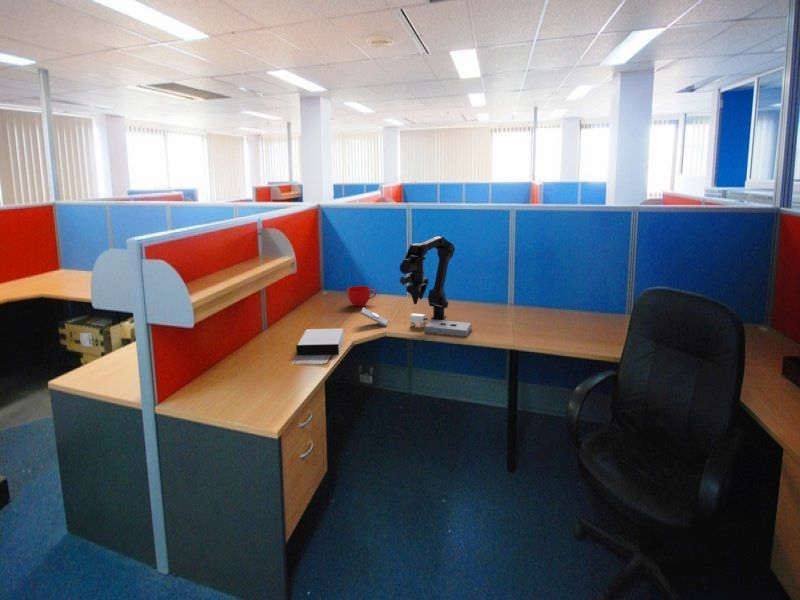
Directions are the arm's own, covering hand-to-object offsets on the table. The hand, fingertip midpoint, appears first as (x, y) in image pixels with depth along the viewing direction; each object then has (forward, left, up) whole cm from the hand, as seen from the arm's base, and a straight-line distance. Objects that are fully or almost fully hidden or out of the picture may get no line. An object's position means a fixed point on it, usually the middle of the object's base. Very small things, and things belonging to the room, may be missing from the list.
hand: (418, 301), depth 233 cm
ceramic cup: (-29, -43, -13) cm, 54 cm away
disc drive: (+39, -32, -14) cm, 52 cm away
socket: (+2, +16, -13) cm, 20 cm away
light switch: (+3, -22, -13) cm, 26 cm away
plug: (0, 0, -13) cm, 13 cm away
